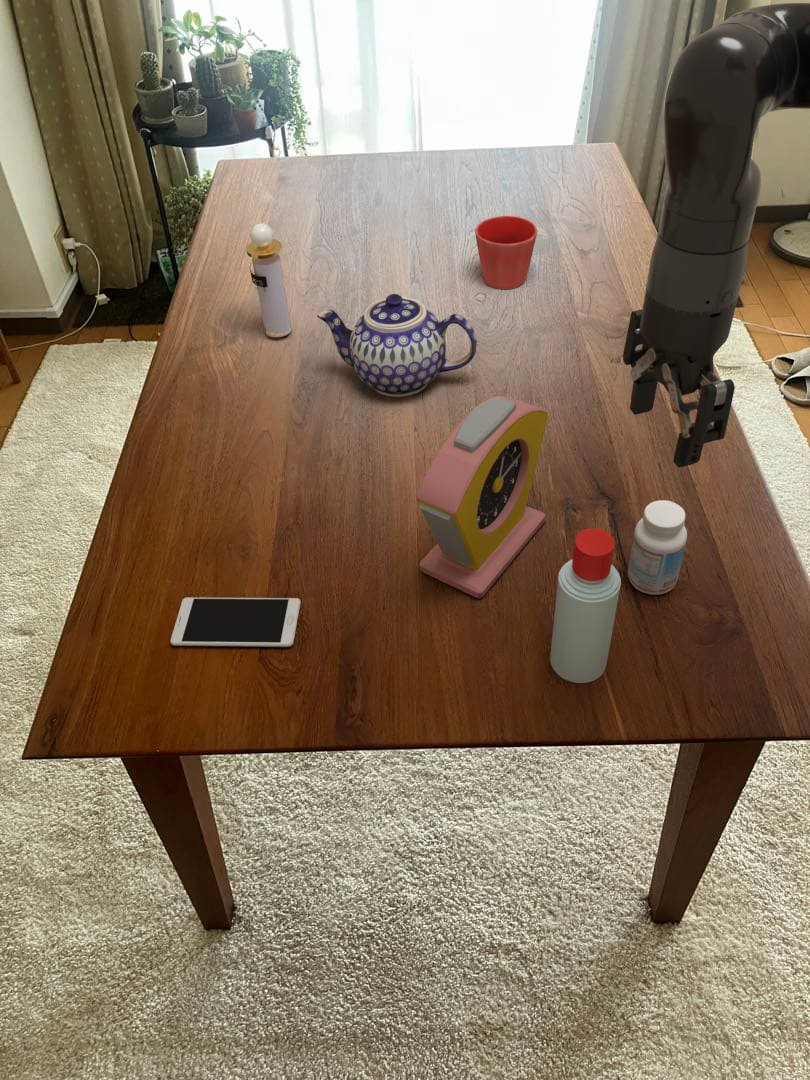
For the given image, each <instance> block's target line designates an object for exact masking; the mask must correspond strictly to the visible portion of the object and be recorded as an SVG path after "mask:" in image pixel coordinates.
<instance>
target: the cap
mask: <svg viewBox="0 0 810 1080" xmlns="http://www.w3.org/2000/svg"><path fill="white" fill-rule="evenodd" d="M573 545H574V546H573V555H572V559H573V562H572V569H573V571H574V573H575V574H576V575H577V576H578V577H579V578H581V579H583V580H586V581H600V580H603V579H604V578H606V577H607V576H608V575H609V573H610V570H611V564H612V563H613V557H614V552H615V551H614V550H615V545H616V544H615V540H614V537H613V536H612V535H611V534H610V533H609V532H607V531H606V530H604V529H600V528H595V527H591V528H585V529H583V530H581V531H580V532H578V533H577V534H576V535H575V538H574V544H573ZM612 565H613V564H612Z"/></svg>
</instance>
